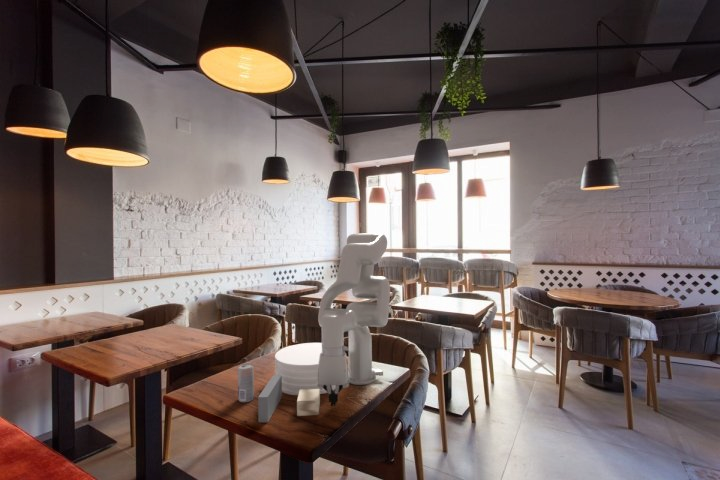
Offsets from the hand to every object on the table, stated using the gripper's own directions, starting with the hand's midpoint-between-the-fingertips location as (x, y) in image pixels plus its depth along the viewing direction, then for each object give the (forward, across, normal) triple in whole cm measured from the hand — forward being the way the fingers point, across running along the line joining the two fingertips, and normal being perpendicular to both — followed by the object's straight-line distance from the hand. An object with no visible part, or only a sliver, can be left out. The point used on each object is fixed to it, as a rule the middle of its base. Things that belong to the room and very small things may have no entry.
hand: (333, 404), depth 120 cm
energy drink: (+2, +32, -7) cm, 33 cm away
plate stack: (+2, +12, -24) cm, 27 cm away
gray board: (+2, +21, 0) cm, 21 cm away
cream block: (+2, +8, 0) cm, 9 cm away
